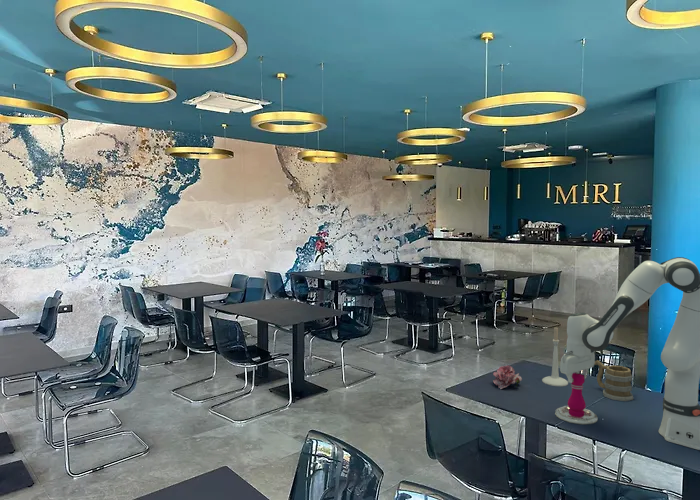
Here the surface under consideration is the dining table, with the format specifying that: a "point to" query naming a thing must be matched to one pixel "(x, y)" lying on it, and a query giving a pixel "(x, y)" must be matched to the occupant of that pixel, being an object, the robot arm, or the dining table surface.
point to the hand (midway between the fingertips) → (577, 380)
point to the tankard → (615, 382)
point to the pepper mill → (577, 396)
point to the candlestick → (555, 366)
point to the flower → (506, 377)
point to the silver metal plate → (586, 419)
